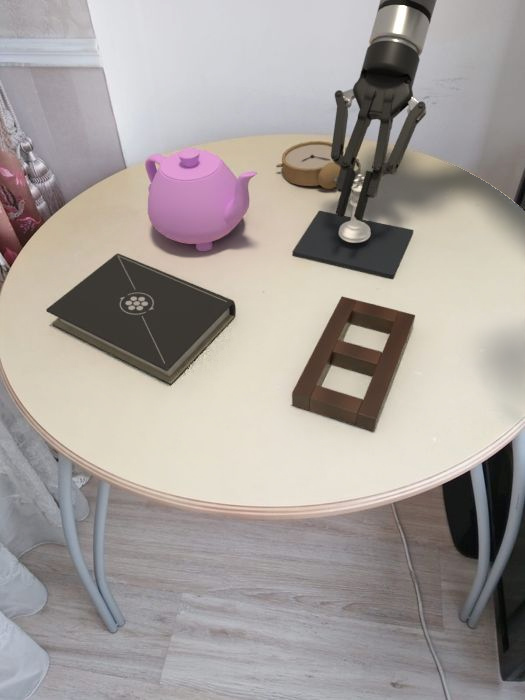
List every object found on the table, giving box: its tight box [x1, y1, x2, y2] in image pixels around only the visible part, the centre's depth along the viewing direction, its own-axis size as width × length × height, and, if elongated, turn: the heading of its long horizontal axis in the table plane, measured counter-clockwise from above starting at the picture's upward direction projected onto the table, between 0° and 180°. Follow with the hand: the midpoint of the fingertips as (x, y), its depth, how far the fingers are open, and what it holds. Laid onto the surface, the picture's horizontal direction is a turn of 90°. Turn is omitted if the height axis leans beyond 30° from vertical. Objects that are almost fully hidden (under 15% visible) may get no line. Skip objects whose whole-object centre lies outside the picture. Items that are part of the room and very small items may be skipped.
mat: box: [292, 210, 414, 280], centre depth 89 cm, size 16×12×1 cm
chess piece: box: [339, 173, 371, 243], centre depth 84 cm, size 5×5×10 cm
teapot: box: [144, 147, 258, 252], centre depth 88 cm, size 22×16×14 cm
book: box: [45, 253, 237, 386], centre depth 78 cm, size 22×15×3 cm
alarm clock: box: [275, 140, 362, 190], centre depth 102 cm, size 11×5×15 cm
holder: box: [291, 295, 416, 433], centre depth 71 cm, size 10×18×2 cm, turn 156°
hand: (349, 216), depth 81 cm, fingers closed on chess piece, 2 cm apart
